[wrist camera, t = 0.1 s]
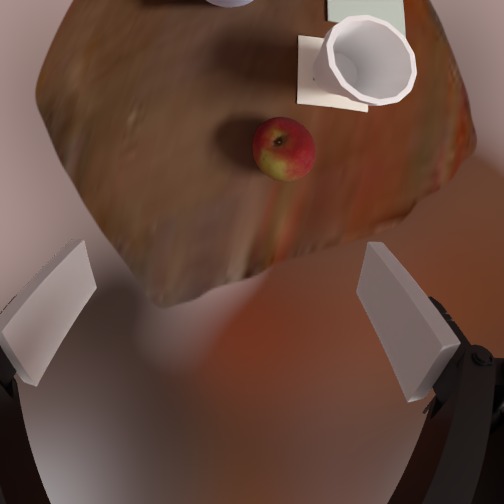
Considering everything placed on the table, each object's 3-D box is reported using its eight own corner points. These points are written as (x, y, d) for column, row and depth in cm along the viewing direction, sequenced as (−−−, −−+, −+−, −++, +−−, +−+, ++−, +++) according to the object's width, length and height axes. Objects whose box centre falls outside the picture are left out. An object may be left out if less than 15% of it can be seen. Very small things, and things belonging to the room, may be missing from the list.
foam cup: (296, 41, 29) (320, 10, 18) (362, 43, 29) (408, 22, 17) (305, 106, 34) (333, 104, 22) (369, 106, 33) (419, 108, 22)
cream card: (298, 35, 29) (298, 35, 29) (368, 47, 29) (369, 47, 29) (297, 103, 34) (297, 103, 33) (367, 112, 34) (367, 112, 34)
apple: (308, 117, 35) (323, 118, 27) (307, 174, 38) (321, 190, 31) (251, 116, 34) (251, 117, 27) (252, 175, 38) (253, 190, 31)
